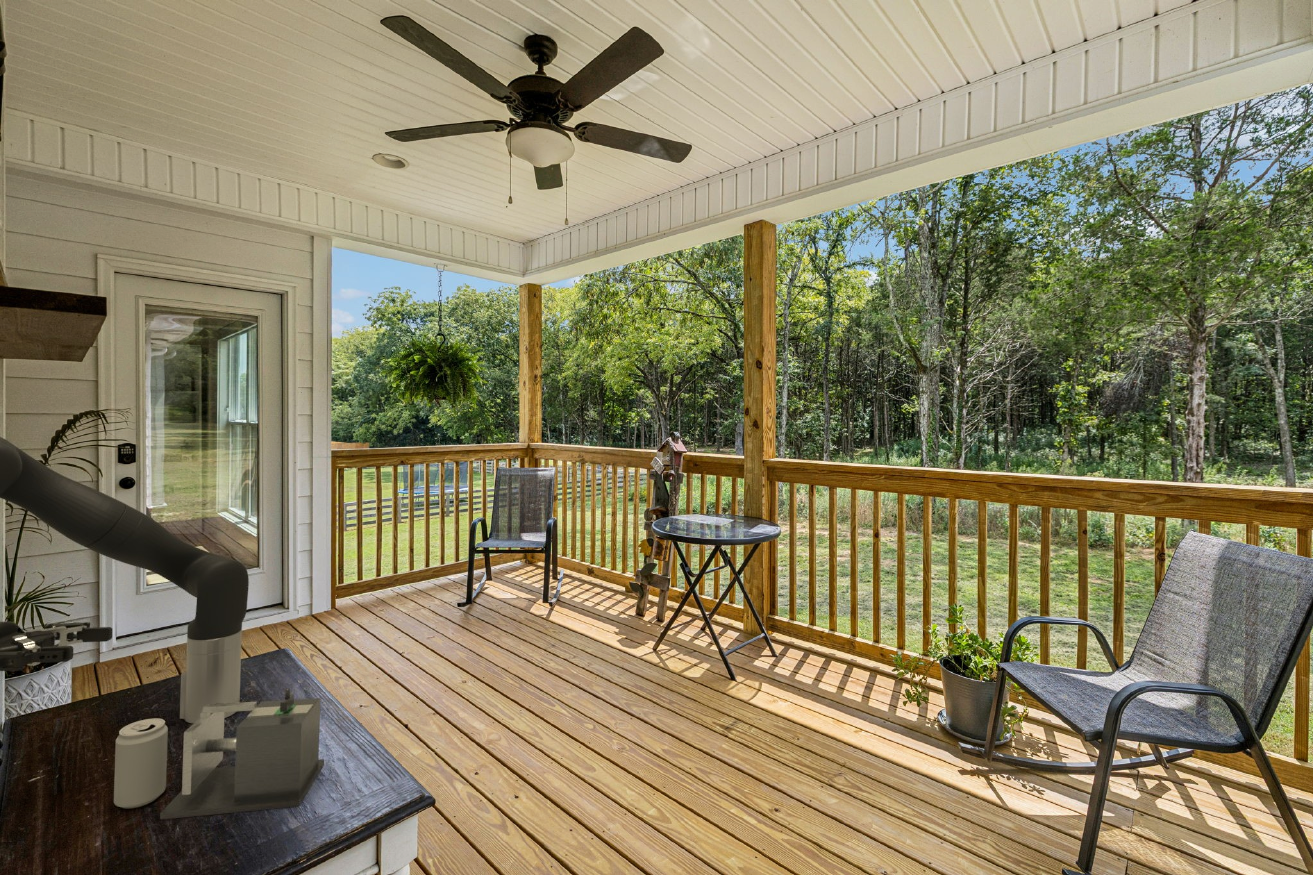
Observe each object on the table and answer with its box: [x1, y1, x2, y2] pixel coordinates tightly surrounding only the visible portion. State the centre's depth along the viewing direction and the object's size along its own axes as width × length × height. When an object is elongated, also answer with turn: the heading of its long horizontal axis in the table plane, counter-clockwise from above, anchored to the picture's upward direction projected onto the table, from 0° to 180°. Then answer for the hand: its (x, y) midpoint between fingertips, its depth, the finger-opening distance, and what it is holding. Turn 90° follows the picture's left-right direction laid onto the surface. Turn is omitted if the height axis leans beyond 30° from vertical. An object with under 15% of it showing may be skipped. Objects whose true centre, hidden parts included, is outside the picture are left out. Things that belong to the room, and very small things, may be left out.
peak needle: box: [280, 687, 295, 712], centre depth 99 cm, size 1×3×3 cm, turn 13°
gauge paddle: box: [181, 701, 258, 795], centre depth 97 cm, size 9×10×12 cm
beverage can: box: [113, 717, 169, 809], centre depth 95 cm, size 6×6×12 cm
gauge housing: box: [159, 697, 325, 821], centre depth 98 cm, size 20×12×13 cm, turn 103°
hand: (92, 643), depth 93 cm, fingers open, 8 cm apart
